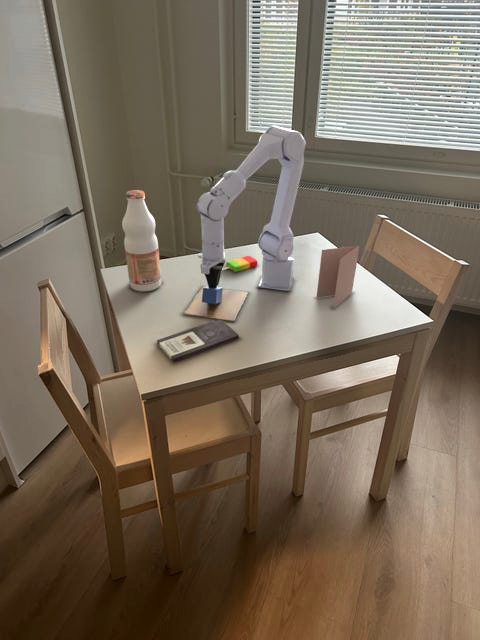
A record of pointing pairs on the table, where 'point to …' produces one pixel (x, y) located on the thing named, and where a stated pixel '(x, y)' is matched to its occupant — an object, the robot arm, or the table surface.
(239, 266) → the popsicle
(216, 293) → the blue block
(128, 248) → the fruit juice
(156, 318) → the table surface
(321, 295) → the greeting card
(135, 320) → the table surface
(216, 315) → the cork mat
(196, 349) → the chocolate bar
